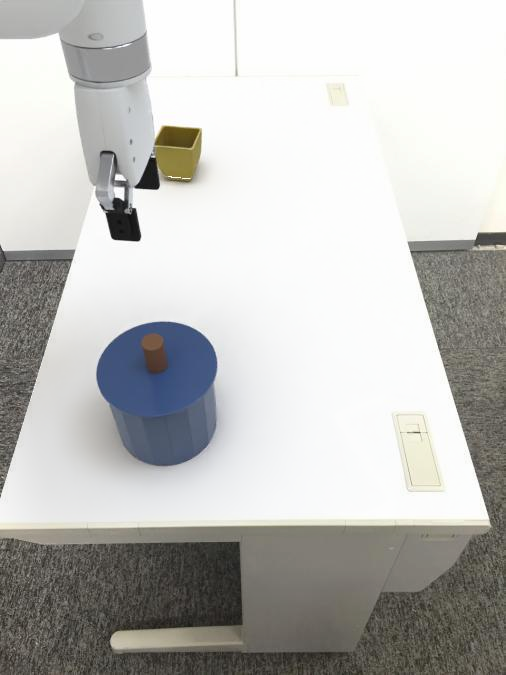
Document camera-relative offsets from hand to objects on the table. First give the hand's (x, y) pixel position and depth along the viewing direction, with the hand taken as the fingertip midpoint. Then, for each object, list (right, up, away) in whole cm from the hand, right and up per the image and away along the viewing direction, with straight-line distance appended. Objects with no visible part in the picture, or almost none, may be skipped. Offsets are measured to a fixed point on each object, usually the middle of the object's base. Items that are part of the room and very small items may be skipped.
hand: (137, 212), depth 61 cm
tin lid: (+1, -18, +5) cm, 19 cm away
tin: (+1, -26, +15) cm, 30 cm away
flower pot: (-3, +21, +56) cm, 60 cm away
